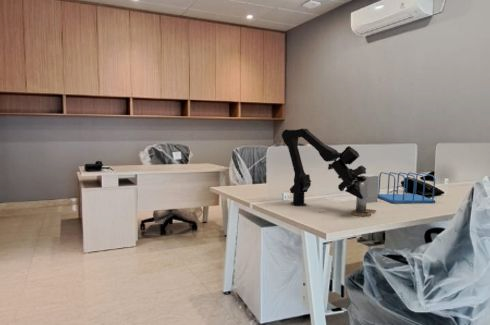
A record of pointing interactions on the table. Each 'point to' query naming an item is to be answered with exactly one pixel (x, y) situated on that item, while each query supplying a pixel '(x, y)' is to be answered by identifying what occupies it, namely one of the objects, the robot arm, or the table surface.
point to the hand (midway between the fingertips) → (364, 197)
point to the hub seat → (366, 214)
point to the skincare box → (372, 187)
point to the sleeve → (363, 190)
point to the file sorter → (406, 197)
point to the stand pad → (371, 211)
